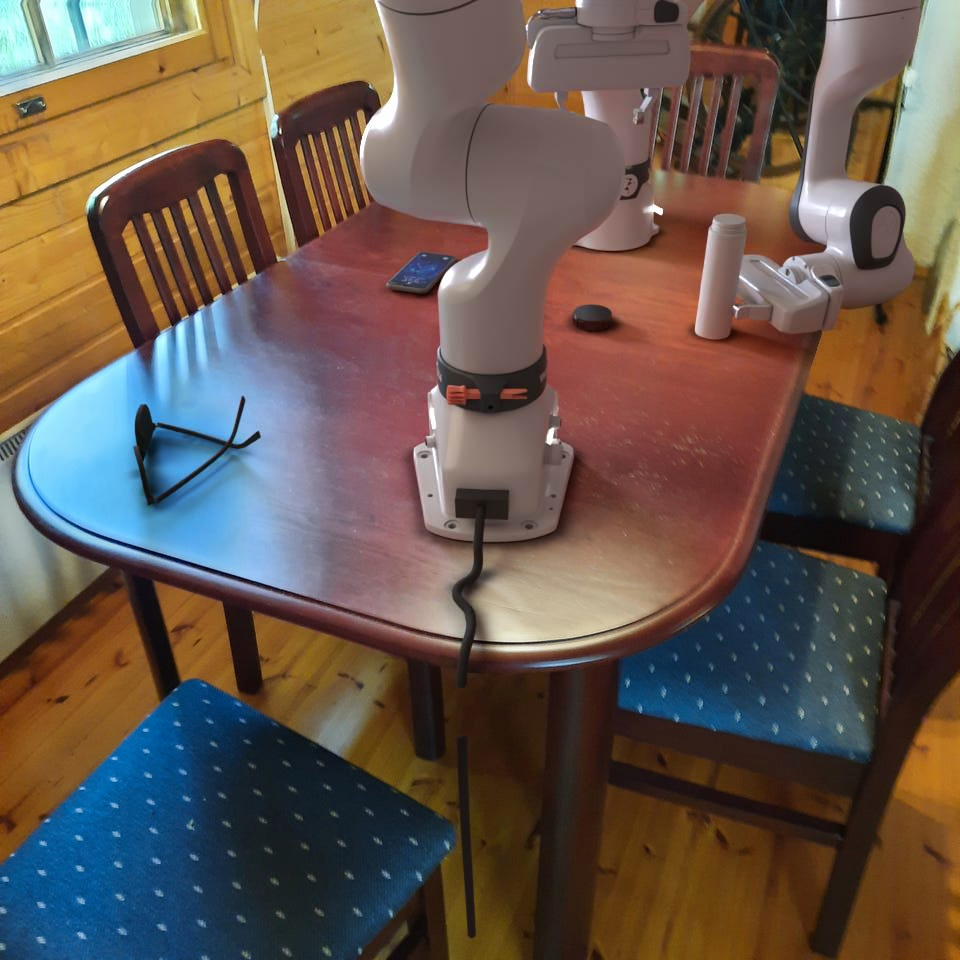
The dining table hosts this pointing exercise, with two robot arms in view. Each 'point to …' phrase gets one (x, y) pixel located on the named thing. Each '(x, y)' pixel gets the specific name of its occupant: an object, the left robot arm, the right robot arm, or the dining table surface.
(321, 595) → the dining table surface
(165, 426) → the sunglasses
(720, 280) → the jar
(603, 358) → the dining table surface
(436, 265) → the smartphone
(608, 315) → the lid
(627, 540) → the dining table surface
